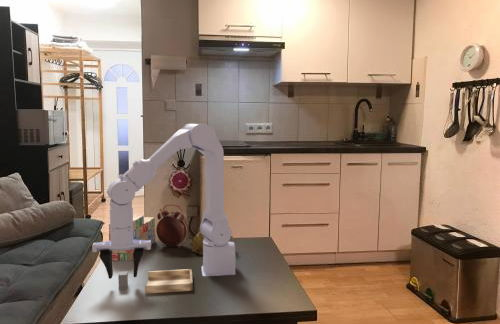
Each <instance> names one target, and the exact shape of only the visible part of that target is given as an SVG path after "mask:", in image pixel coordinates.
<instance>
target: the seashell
mask: <svg viewBox="0 0 500 324" xmlns="http://www.w3.org/2000/svg"><path fill="white" fill-rule="evenodd" d="M197 231H198V232H196V233H195V235H194V237H193V238H192V239H191V242H190V243H189V245H190V247H191V252H192V253H195V254H198V255H201V256H203V240H204V236H203V235H202V234H201V231H200V227H199V228H198V230H197ZM233 238H234V237H233V235H231V238H230V240H229V241H228V242H234V239H233Z"/></svg>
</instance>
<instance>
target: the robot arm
mask: <svg viewBox="0 0 500 324" xmlns="http://www.w3.org/2000/svg"><path fill="white" fill-rule="evenodd" d="M216 133H217V132H216V131H215V129H213V128H212V127H210V125H208V124H206V123H193V122H191V123H190V122H189V123H187V124H184V126H183V127H182V128H179V130H177V131H176V132H175V133H174V134H172V136H171V137H170V138H168V139H167V140H166V141H165V142H164V143H163V144H162V145H161V146H160V147H159V148H158V149H157V150H156V151H155V152H154V153H153V154H152V155H151V156H150V157H149V158H148V159H145V158H143V159H142V158H141V159H140V160H138V161H137V160H134V162H132V166H131V167H130V168H129V169H127V171H126V172H125V173H123V174H122V173H121V174H119V176H118V179H115V180H113V181H111V183H110V184H109V185H108V189H107V190H106V193H107V196H108V197H109V198H110V199H109V207H110V208H109V224H110V237H111V241H109V240H107V241H106V240H105V241H100V242H99V241H98V242H93V244H92V246H91V247H92V250H91V251H92V253H98V252H99V259H100V260H101V262H102V264H103V265H104V266H105V270H106V273H107V277H108V279H112V278H113V276H114V275H113V273H114V272H113V271H114V270H113V269H114V268H113V261H112V250H133V249H134V252H133V259H132V260H133V274H132V275H133V278H137V275H138V270H139V264H140V262H141V260H142V257H143V255H144V252H145V250H147V251H148V250H151V249H152V245H151V240H134V239H133V215H134V214H133V213H134V209H133V200H134V199H135V196H136V192H139V191H141V189H142V188H143V187H145V186H146V184H148V183H149V182H150V181H151V180H152V179H153V178H154V177H155V176H156V175H157V169H158V168H159V167H160V166H161V165H162V164H164V163H165V162H166V161H167V160H168V159H170V158H171V157H173V155H174V154H176V153H177V152H178V151H180V150H184V149H192V148H195V149H196V150H197V151H198V152H200V154H202V155H203V156H204V163H205V164H204V168H205V169H204V170H205V176H204V178H205V179H204V180H205V190H204V191H205V210H204V212H203V214H202V221H201V223H200V226H199V228H200V231H201V234H202V235H203V236H204V240H203V255H202V265H201V267H200V268H201V275H202V277H215V276H217V277H218V276H234V275H236V265H237V264H236V244H235V242H234V241H233V242H228V241H229V240H230V238H231V236H232V230H231V227H230V225H229V218H228V216H227V214H226V212H225V187H224V186H225V185H224V184H225V183H224V182H225V179H224V178H225V176H224V175H225V173H224V172H225V170H224V168H225V167H224V165H225V164H224V163H225V162H224V161H225V160H224V159H225V158H224V156H225V155H224V151H225V150H224V148H223V145H222V144H221V141H220V140H219V139H218V137H217V134H216ZM144 249H145V250H144Z"/></svg>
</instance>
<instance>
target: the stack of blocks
mask: <svg viewBox="0 0 500 324" xmlns="http://www.w3.org/2000/svg"><path fill="white" fill-rule="evenodd" d="M155 224H156V223H155V217H153V216H152V217H150V216H146V217H145V216H144V214H143V215H141V214H140V215H139V214H133V239H134V240H151V246H152V245H153V244H154V243H155V242H156V225H155ZM108 241H111V237H110V223H108ZM145 250H146V249H144V251H145ZM133 252H134V249H133V250H112V262H131V261H132V260H133Z"/></svg>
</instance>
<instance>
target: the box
mask: <svg viewBox="0 0 500 324" xmlns="http://www.w3.org/2000/svg"><path fill="white" fill-rule="evenodd" d="M192 271H193V269H192V268H186V269H170V270H169V269H168V270H153V271H151V270H150V271H149V270H148V271H147V282H146V284H145V285H144V294H158V293H175V292H189V291H192V292H193V290H194V289H193V287H194V286H193V272H192Z"/></svg>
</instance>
